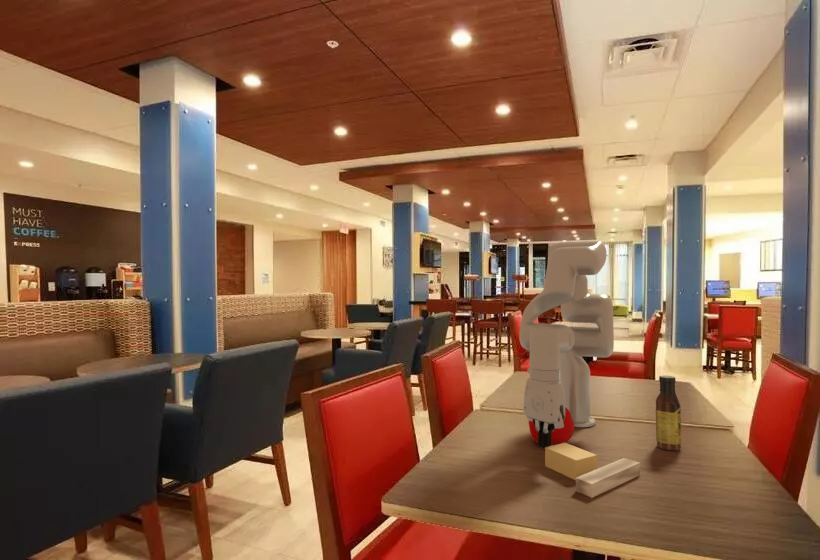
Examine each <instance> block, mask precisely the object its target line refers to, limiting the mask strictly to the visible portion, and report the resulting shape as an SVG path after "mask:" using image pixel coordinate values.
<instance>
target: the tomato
mask: <svg viewBox="0 0 820 560" xmlns="http://www.w3.org/2000/svg"><path fill="white" fill-rule="evenodd" d="M555 423H556V422H555ZM563 424H564V427H563V428H555V429H554V431H553V432H552V443H551V446H553V445H557V444H562V443H567V442H569V441H570V440H571V439H572V436H573V434H574V431H575V427H574V422H573V420H572V416H571V413H570V411H569V410H568V409H567V408H566V407H565V419H564V420H563ZM528 427H529V433H530V436H531V438H532V439H533V441H534V442H535V443H537V444H538V431H537V430H536V426H535V424H534V423H533V422H532V421H530V420H529V419H528Z"/></svg>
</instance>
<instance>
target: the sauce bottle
mask: <svg viewBox="0 0 820 560" xmlns="http://www.w3.org/2000/svg"><path fill="white" fill-rule="evenodd" d="M658 380H659V394H658V395H657V397H656V400H655V436H656V437H655V440H656V446H657V447H658V448H659V449H662V450H665V451H674V452H676V451H680V450H681V447H682V445H681V444H682V411H681V410H682V409H681V407H682V406H681V403H680V401H679V399H678V395H677V392H676V381H677V380H676V377H675V376H673V375H659V376H658Z"/></svg>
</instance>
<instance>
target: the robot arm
mask: <svg viewBox="0 0 820 560" xmlns="http://www.w3.org/2000/svg"><path fill="white" fill-rule="evenodd" d="M606 248H607V247H606V246H605V244H604V243H603V242H602V241H600V240H590V241H589V240H587V241H586V240H585V241H583V240H582V241H563V242H556V243H552V245H550V246H549V247H548V260H547V266H546V272H545V277H544V283H543V284H544V285H543V289H542V291H541V292H540V293H538V294H537V295H536V296H535V297H533V298H532V300H531V301H530V302H529V303H528V304H527V306H526V307H525V309H524V311H523V313H522V317H521V323H520V326H519V334H518V335H519V343H520V345H521V347H522V348H523V349H525V350H526V351H529V367H528V368H527V370H526V372H527V373H528V374H529V378H527V379H526V381H525V382H526V383H525V387H524V394H523V415H524V416H525V417H526V418H527V419H528V421H529V420H530V421H532V422H533V423H534V424H535V426H536V430H537V431H538V443H537V444H538V448H541V449H544V450H545V447H548V446H552V445H551V443H552V432H553V431H554V429H555V428H563V427H564V424H563V420H564V419H565V407H566V408H567V409H568V410H569V411H570V413H571V416H572V420H573V422H574V428H589V427H593V426H595V425H596V419H595V418H594V417H591V370H590V369H591V368H590V367H589V365H588V363H587V362H586V360H584V358H583V357H592V358H593V357H594V358H609V357H611V356H612V354H613V352H614V348H615V347H614V345H615V344H614V343H615V342H614V341H615V339H614V338H615V337H614V335H615V334H614V333H615V332H614V308H613V301H612V299H611V298H610V296H608V295H607V294H602V293H600V294H599V293H589V289H588V287H589V286H588V284H589V283H588V281H589V280H588V278H587V276H595V275H597V274H599V273H600V272H601V270H602V269H603V267H604V265H605V263H606V261H607V249H606ZM559 306H560V313H561V318H562V319H563V320H564V321H565V322H567V323H575V324H576V323H578V324H595V325H596V326H597V327H594V326H593V327H590V326H589V327H588V326H576V325H575V326H573V325H572V326H568V325H566V324H561V323H560V324H556V323H553V324H552V323H542V322H541V323H537V322H536V323H535V321H536V320H537V318H538V317H539V316H541V315H542V314H543V313H545V312H547V311H549V310H551V309H552V310H553V309H555V308H557V307H559ZM555 422H556V423H555Z"/></svg>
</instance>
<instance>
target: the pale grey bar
mask: <svg viewBox="0 0 820 560" xmlns="http://www.w3.org/2000/svg"><path fill="white" fill-rule="evenodd" d="M640 475H641V462H638V461H635V460H633V459H629V458H626V457H623V458H621V459H618V460H615V461H613V462H611V463H608V464H605V465H603V466H601V467H597V469H596V470H593V471H591V472H589V473H586V474H584V475H581V476H579V477H577V478H576V480H575V492H577V493H579V494H581V495H584V496H587V497H589V498H591V499H593V498H595V497H596V496H599V495H601V494H603V493H605V492H607V491H610V490H612V489H614V488H616V487H618V486H620V485H622V484H624V483H626V482H629V481H631V480H633V479H635V478H637V477H640Z"/></svg>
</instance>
